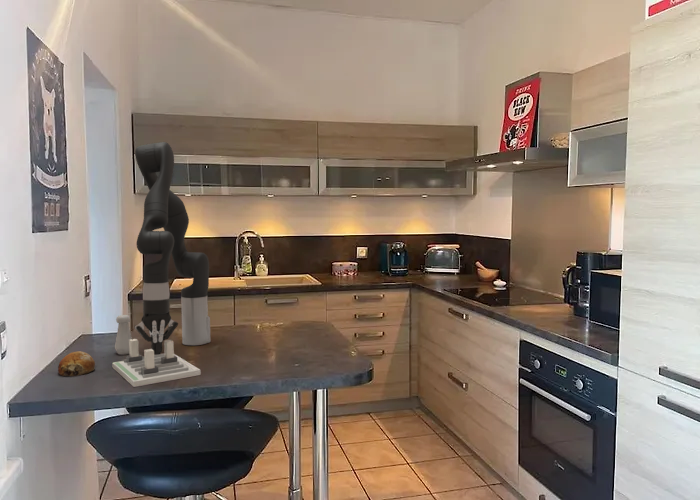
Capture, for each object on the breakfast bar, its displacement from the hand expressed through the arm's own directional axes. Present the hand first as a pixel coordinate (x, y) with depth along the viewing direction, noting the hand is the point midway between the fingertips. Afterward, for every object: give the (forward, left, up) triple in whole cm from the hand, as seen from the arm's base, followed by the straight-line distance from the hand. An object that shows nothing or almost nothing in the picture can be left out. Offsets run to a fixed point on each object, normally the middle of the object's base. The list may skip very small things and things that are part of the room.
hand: (156, 354), depth 169 cm
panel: (+1, 0, -5) cm, 5 cm away
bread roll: (+20, -14, -6) cm, 25 cm away
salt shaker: (+3, -28, -5) cm, 29 cm away
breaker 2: (+5, +8, -4) cm, 10 cm away
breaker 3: (-4, 0, -3) cm, 5 cm away
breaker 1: (+5, -8, -3) cm, 10 cm away
